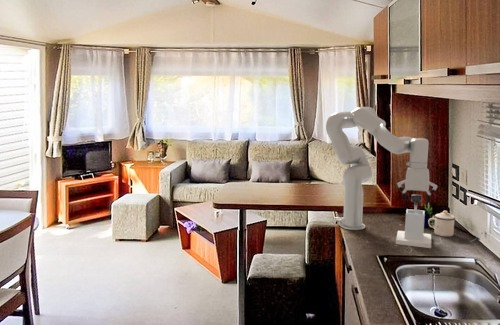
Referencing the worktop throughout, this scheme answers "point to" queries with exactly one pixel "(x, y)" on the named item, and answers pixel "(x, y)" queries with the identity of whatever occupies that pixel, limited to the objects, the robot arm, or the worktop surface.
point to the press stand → (414, 230)
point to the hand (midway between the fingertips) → (416, 202)
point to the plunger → (416, 199)
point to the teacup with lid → (443, 224)
